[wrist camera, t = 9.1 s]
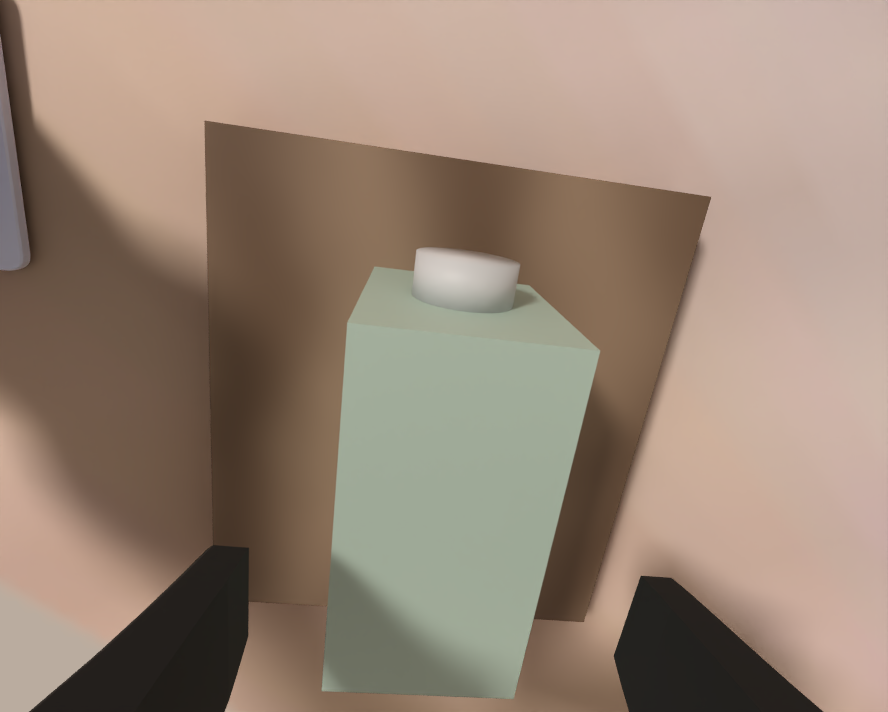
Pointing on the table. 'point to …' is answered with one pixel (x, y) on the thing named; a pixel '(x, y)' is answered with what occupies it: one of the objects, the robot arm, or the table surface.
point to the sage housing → (448, 475)
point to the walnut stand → (394, 246)
